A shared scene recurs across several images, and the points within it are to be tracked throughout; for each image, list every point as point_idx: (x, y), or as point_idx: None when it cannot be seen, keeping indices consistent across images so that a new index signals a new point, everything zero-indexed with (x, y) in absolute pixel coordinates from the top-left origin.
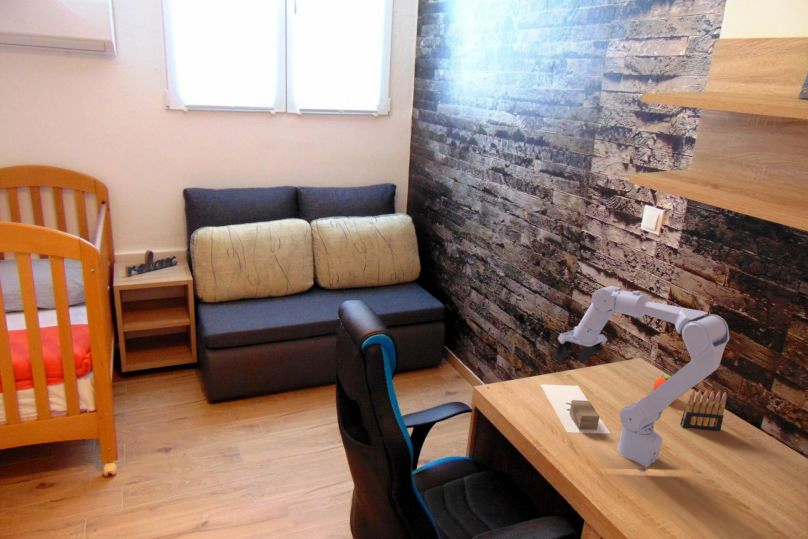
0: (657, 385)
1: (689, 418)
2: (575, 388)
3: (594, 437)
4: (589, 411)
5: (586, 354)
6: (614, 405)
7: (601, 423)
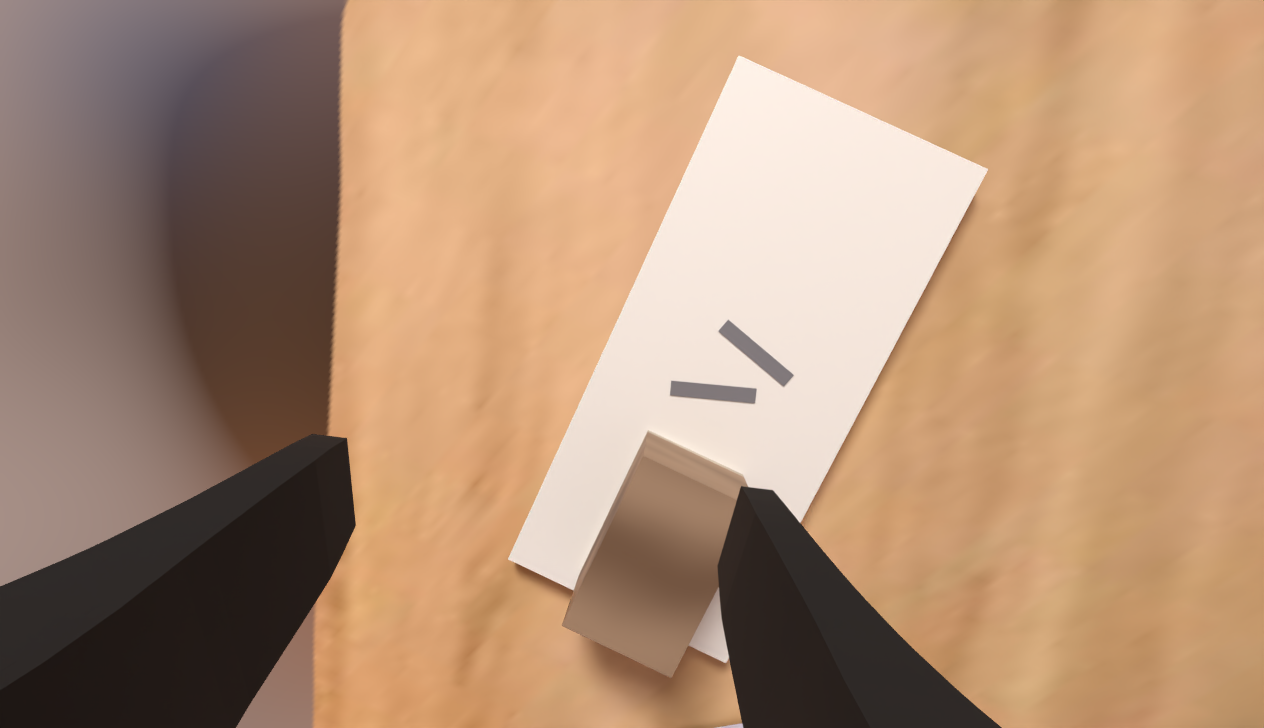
0: None
1: None
2: (938, 194)
3: None
4: (650, 611)
5: (762, 725)
6: (1037, 426)
7: None
